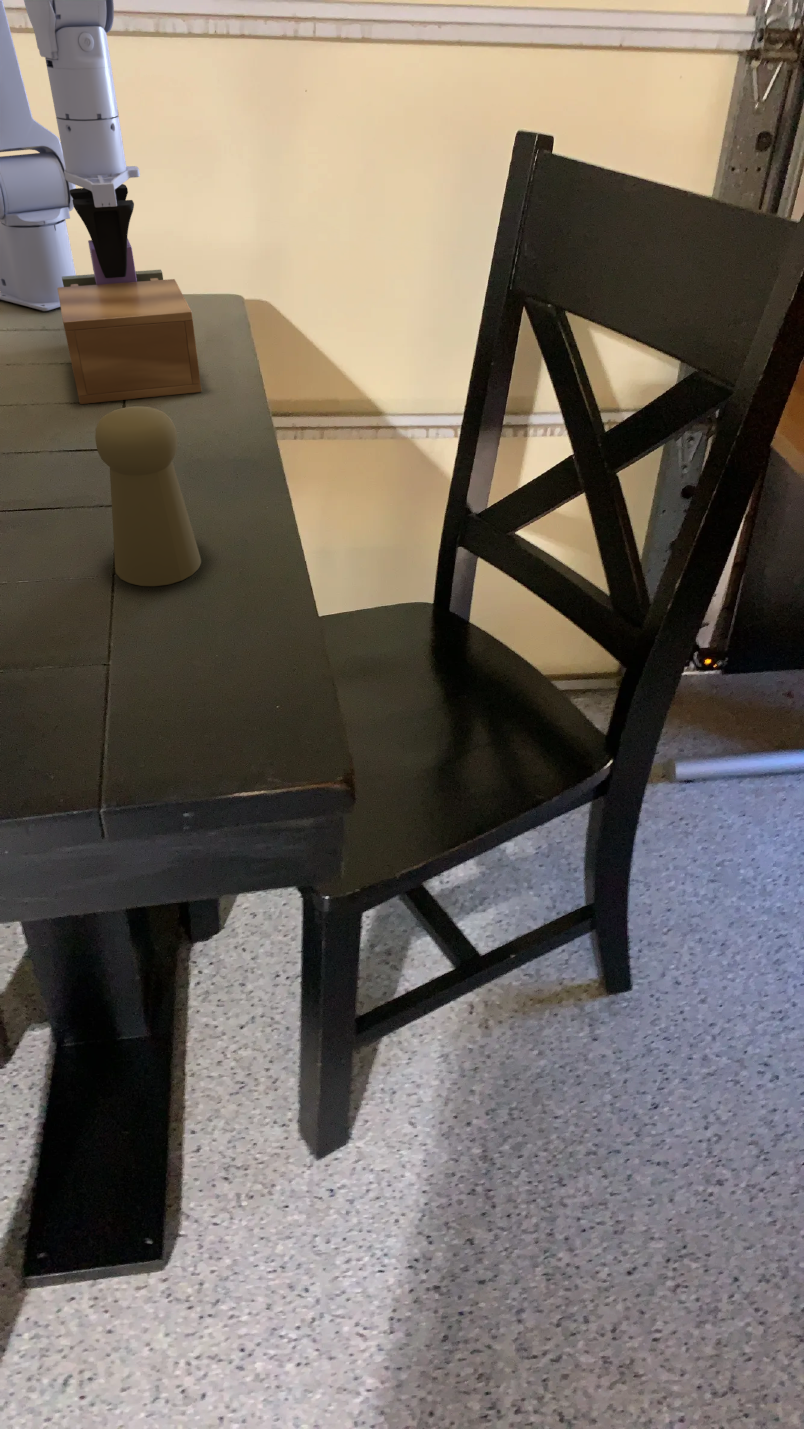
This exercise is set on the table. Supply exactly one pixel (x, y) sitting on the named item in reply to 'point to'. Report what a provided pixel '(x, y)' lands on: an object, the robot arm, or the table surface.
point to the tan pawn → (146, 498)
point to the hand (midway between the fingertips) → (113, 270)
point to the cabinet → (130, 340)
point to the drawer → (90, 280)
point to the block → (102, 280)
